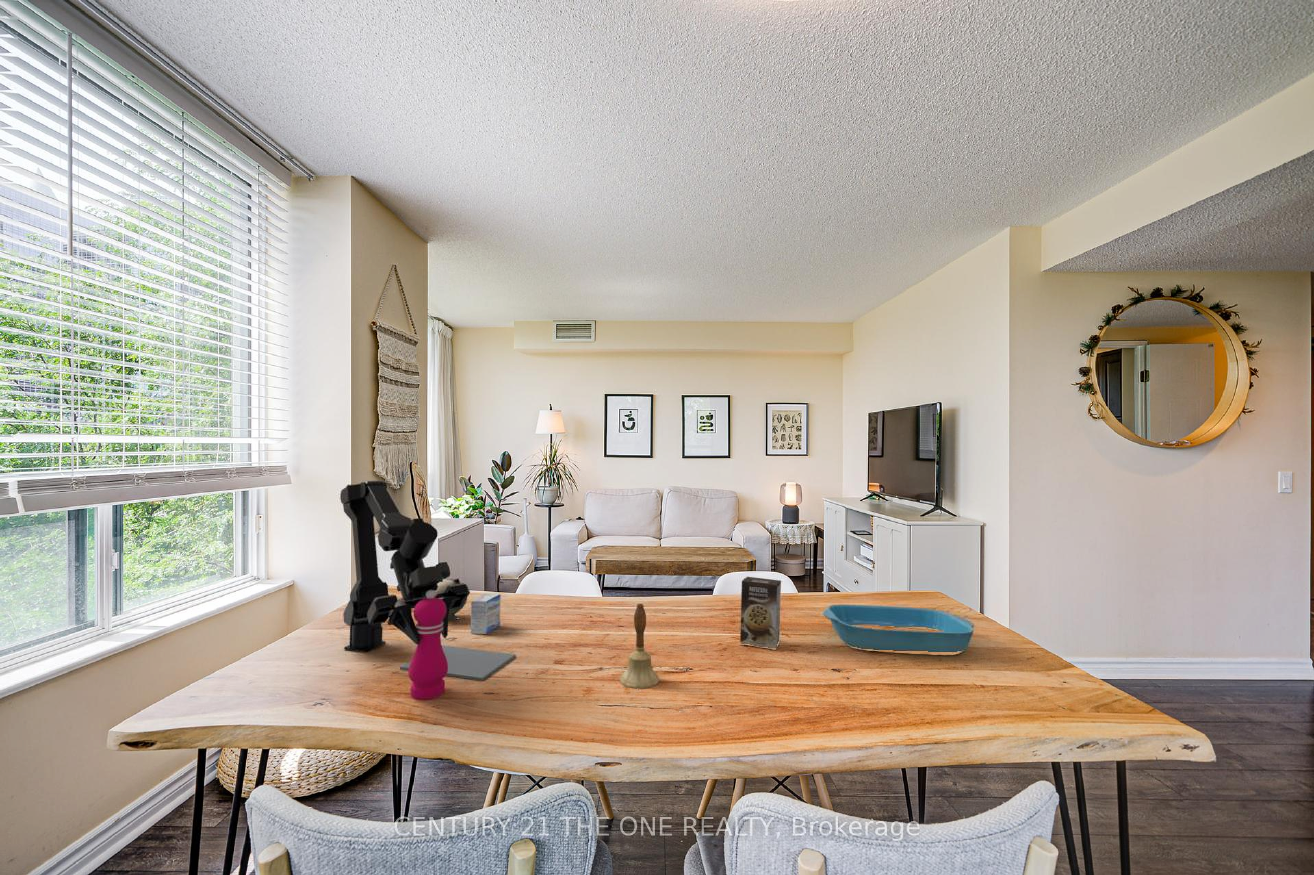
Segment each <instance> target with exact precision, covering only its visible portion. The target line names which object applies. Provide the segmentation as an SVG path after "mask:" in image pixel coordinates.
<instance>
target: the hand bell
mask: <svg viewBox="0 0 1314 875" xmlns="http://www.w3.org/2000/svg"><path fill="white" fill-rule="evenodd" d="M633 625H634V630H635V634H636V635H635V636H636V640H635V641H636V642H635V646H636V647H635V650H634V651H632V652H630V654H629V657H628V663H627V667H626V669H625V670H624V672H623V673H622V674H621V675H620V677H619V682H620V684H621V685H622V686H625V687H628V688H631V689H637V688H643V689H648V688H652V687H654V686H656V685H658V684H659V683H660V678H659V675H658V674H657V673H656V672H655V670H654V669H653V664H652V659H651V658H652V657H651V654H650V653H649V652H647V651H646V650H645V644H644V643H645V638H644V637H645V636H644V635H645V634H644V633H645V630H646V625H647V614H646V610H645V606H644V604H643V603H637V604H636V608H635V611H634V616H633Z"/></svg>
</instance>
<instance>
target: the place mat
mask: <svg viewBox="0 0 1314 875" xmlns="http://www.w3.org/2000/svg"><path fill="white" fill-rule="evenodd" d="M441 645H442V649H443V652H444V654H445V656H446V658H447V662H448V672H447V674H446V675H445V677H451V678H458V679H459V678H460V679H464V680H465V679H466V680H473V681H481V682H482V681H484V680H485V679H487V678H488V677H490V676H491V675H493V674H494V673H495V672H496V671H498V670H499V669H501V668H502V667H504V666H505V665H506V664H508V663H509V662H511V661H512V660H513V659H515V658H516V655H517V654H516V653H508V652H500V651H493V650H492V651H491V650H484V649H474V648H469V647H468V648H467V647H461V646H460V647H459V646H451V645H444V644H441ZM410 662H411V660H410V661H408V662H405V663H404V664H402V665H400V666H399V671H400V670H401V671H406V672H407V671H409V666H410Z"/></svg>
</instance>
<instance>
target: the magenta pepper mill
mask: <svg viewBox="0 0 1314 875" xmlns="http://www.w3.org/2000/svg"><path fill="white" fill-rule="evenodd" d="M426 597H427V598H425V599H422V600H421V601H419V602H418V603H417V604H416V606H415V608H413V619H414V620H415V621H416V622H417V623H415V626H416V628H417V631H418V634H419V638H420V643H419V644H418V645H417V646H416V647H415V648H416V649H415V652H414V654H413V656H412V658H411V660H410V661H411V662H410V661H409V662H410V666H409V671H408V672H407V674H408V679H410V681H411V682H412V684H411V685H410V693H409V694H410V697H411V698H413V699H415V700H430V699H434V698H437V697H439V696H441V695H443V694H444V693H445V691H446V681H445V680H444V678H445V677H446V676H445V675H446V674H447V672H448V662H447V658H446V656H445V654H444V652H443V649H442V645H443V644H442V641H441V638H442V637H441V636H442V634H441V631H442V630H443V622H442V619H443V618H444V617H445V615H446V605H445V603H444V601H443V600H441V599H439V598H435V591H433V590H429V591H427V593H426Z"/></svg>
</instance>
